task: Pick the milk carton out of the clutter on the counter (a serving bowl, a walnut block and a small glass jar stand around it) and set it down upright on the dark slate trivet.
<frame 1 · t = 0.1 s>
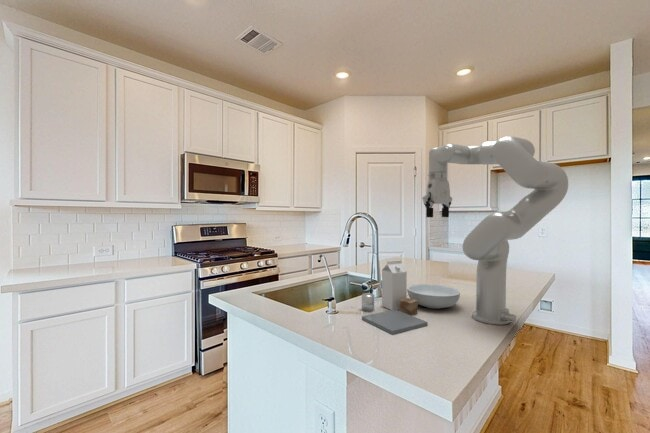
hand: (437, 217, 134), 37 cm above the counter, tool pointing down, fingers open, 9 cm apart
walnut block: (408, 313, 121), on the counter
glass jar: (368, 309, 125), on the counter
serving bowl: (432, 306, 131), on the counter
trivet: (393, 322, 111), on the counter
milk carton: (393, 307, 128), on the counter
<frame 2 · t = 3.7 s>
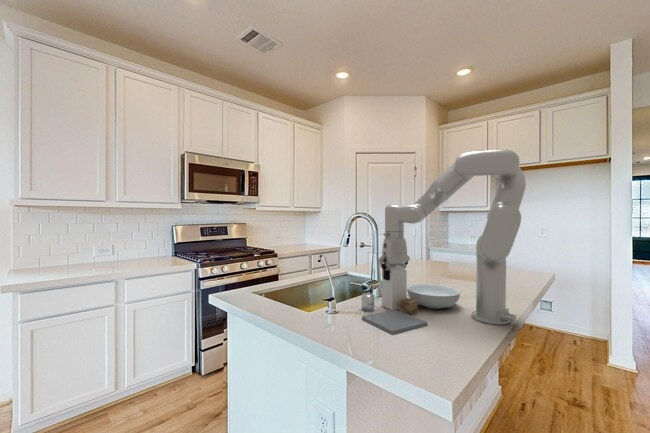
hand: (394, 278, 128), 12 cm above the counter, tool pointing down, fingers closed on milk carton, 7 cm apart
milk carton: (393, 307, 128), on the counter, touching gripper
everything else where it was.
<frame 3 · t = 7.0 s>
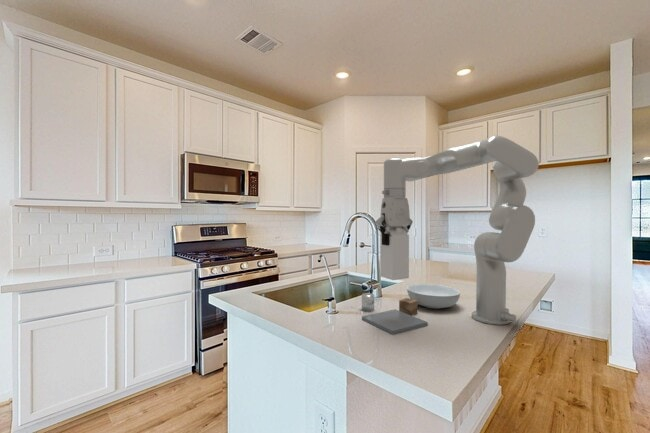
hand: (394, 244, 110), 28 cm above the counter, tool pointing down, fingers closed on milk carton, 7 cm apart
milk carton: (394, 278, 111), point 16 cm above the counter, touching gripper
everything else where it was.
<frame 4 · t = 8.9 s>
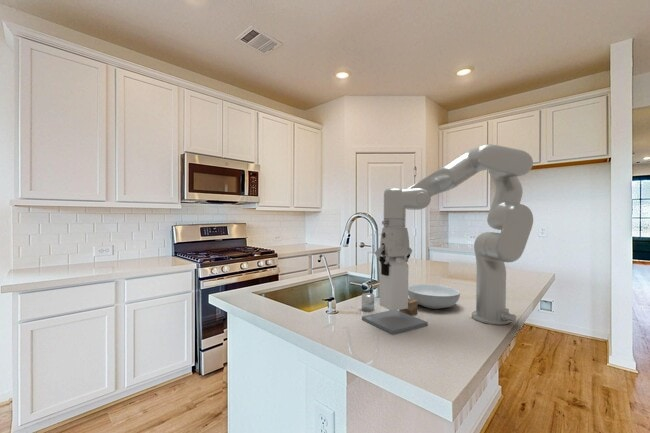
hand: (393, 273, 110), 17 cm above the counter, tool pointing down, fingers closed on milk carton, 7 cm apart
milk carton: (393, 307, 111), point 5 cm above the counter, touching gripper
everything else where it was.
when the fingers open (14 cm above the counter, at t = 10.7 s): milk carton stays where it is, resting on trivet.
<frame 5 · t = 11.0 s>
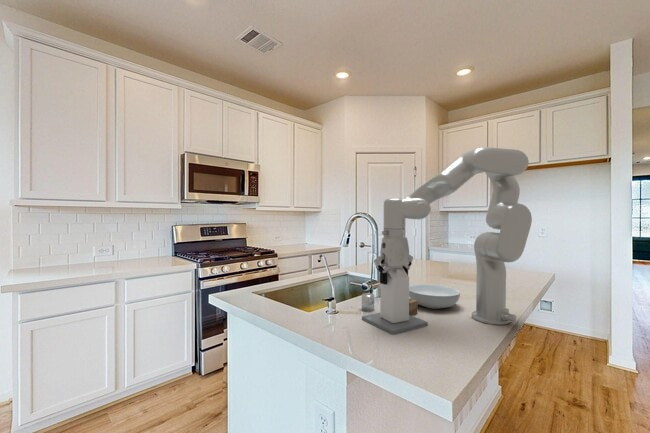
hand: (394, 282, 110), 14 cm above the counter, tool pointing down, fingers open, 9 cm apart
milk carton: (394, 319, 111), point 1 cm above the counter, touching trivet
everything else where it was.
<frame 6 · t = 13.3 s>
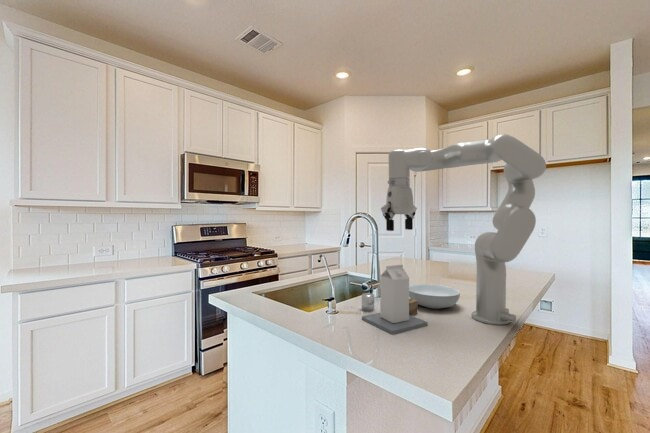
hand: (399, 230, 116), 32 cm above the counter, tool pointing down, fingers open, 9 cm apart
nothing on the counter moved.
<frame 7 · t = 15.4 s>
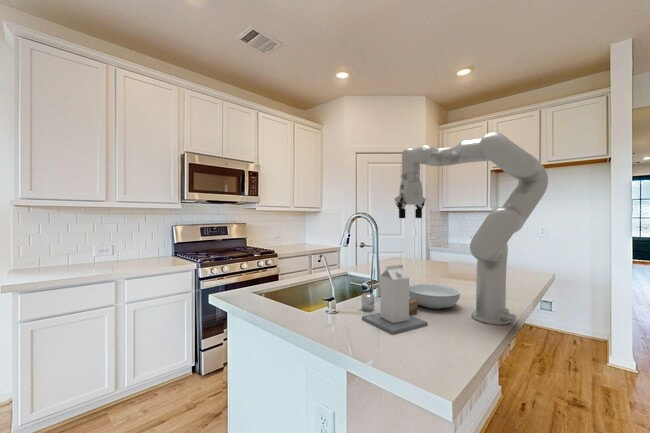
hand: (410, 218, 135), 36 cm above the counter, tool pointing down, fingers open, 9 cm apart
nothing on the counter moved.
at the end: milk carton 0.2 cm from the trivet (horizontally); milk carton tilted 0°; milk carton touching trivet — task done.
